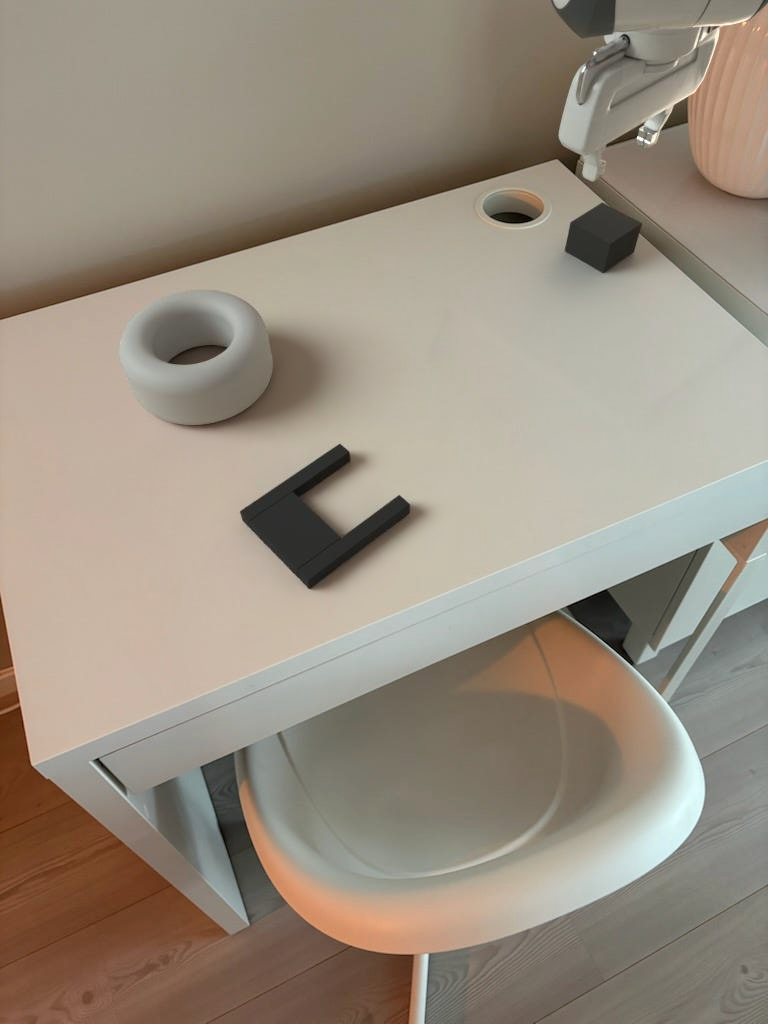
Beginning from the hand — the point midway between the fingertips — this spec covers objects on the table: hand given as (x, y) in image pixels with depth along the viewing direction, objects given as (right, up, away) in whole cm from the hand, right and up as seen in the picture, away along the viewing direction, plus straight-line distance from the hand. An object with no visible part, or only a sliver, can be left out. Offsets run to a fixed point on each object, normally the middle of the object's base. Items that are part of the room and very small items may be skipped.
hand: (619, 160), depth 83 cm
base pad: (-31, -39, -13) cm, 52 cm away
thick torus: (-45, -24, -2) cm, 51 cm away
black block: (0, -7, +9) cm, 12 cm away
